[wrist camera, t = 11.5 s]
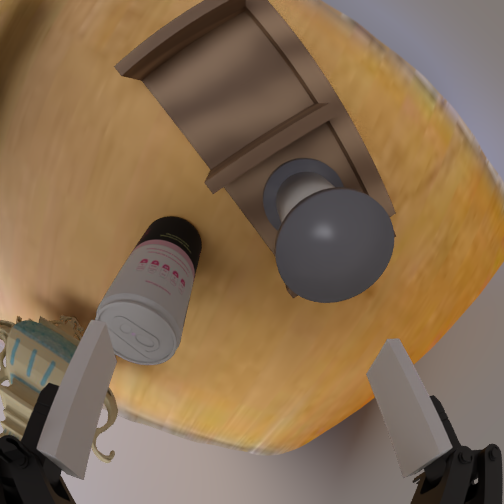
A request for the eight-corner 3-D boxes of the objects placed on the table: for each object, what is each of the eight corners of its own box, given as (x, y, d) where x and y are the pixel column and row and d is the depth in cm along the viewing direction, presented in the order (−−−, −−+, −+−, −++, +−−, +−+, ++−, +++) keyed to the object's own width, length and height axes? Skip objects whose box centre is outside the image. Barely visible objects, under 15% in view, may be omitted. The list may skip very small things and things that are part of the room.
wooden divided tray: (137, 73, 23) (114, 66, 17) (254, -3, 19) (258, -28, 14) (285, 267, 34) (293, 298, 28) (386, 205, 30) (411, 226, 25)
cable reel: (246, 187, 28) (250, 237, 18) (317, 142, 26) (366, 165, 16) (290, 248, 32) (312, 320, 21) (354, 208, 30) (407, 263, 19)
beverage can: (179, 276, 34) (151, 377, 20) (136, 244, 31) (81, 333, 18) (214, 239, 32) (197, 337, 18) (167, 202, 29) (114, 282, 16)
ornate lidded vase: (154, 335, 38) (109, 542, 12) (130, 371, 42) (92, 534, 16) (20, 251, 31) (-99, 405, 5) (15, 301, 35) (-68, 436, 9)
